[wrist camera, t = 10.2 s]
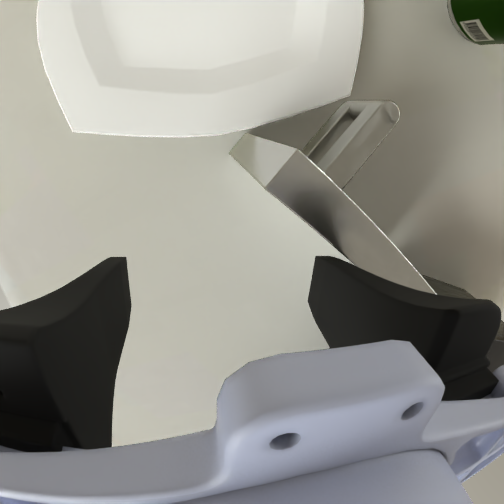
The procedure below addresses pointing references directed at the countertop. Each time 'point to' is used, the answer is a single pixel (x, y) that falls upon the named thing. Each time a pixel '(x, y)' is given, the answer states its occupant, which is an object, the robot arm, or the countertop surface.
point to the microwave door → (334, 185)
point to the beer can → (478, 20)
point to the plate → (196, 62)
